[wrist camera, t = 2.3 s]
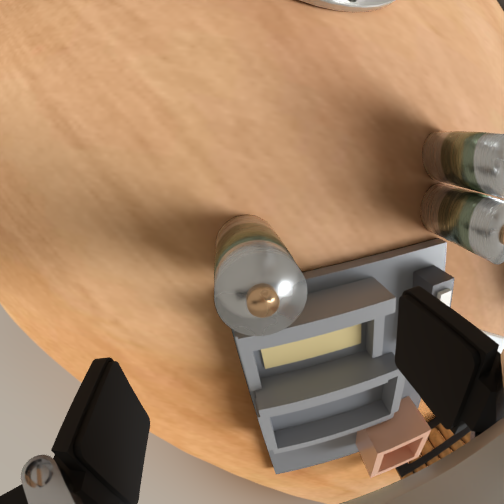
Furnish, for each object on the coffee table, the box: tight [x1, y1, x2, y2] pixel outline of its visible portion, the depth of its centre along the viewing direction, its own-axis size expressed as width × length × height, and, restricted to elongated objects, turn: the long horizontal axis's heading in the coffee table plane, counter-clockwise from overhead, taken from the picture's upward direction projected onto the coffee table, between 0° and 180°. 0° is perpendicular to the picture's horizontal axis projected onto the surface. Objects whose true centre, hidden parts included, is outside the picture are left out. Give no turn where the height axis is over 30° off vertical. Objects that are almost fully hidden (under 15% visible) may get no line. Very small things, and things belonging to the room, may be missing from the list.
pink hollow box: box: [355, 396, 431, 478], centre depth 22 cm, size 5×5×5 cm
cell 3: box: [421, 184, 504, 264], centre depth 15 cm, size 4×4×7 cm
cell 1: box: [214, 215, 307, 336], centre depth 14 cm, size 4×4×7 cm
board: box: [232, 238, 454, 474], centre depth 21 cm, size 23×16×4 cm
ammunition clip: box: [395, 417, 471, 480], centre depth 22 cm, size 11×2×12 cm, turn 120°
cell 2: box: [422, 131, 504, 198], centre depth 14 cm, size 4×4×7 cm
